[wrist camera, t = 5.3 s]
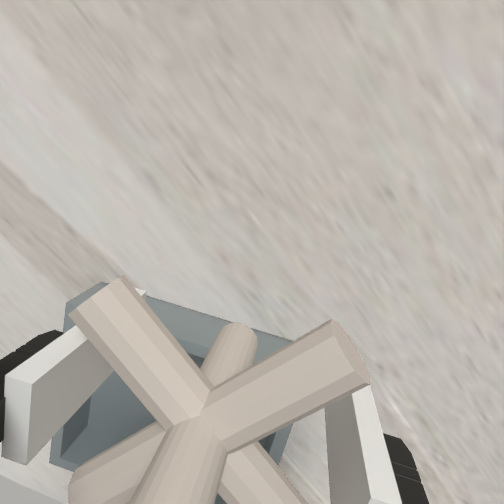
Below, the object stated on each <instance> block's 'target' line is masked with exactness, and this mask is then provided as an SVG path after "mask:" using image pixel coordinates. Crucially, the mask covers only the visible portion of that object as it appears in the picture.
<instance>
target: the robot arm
mask: <svg viewBox="0 0 504 504" xmlns="http://www.w3.org/2000/svg"><path fill="white" fill-rule="evenodd" d="M135 289H136V291H137V292H138V293H139V294H140V296H141V297H142V298H143V299H144V301H145V299H146V293H147V291H143V290H140V289H137V288H135ZM361 357H362V356H361ZM362 359H363V358H362ZM113 371H114V369H113V368H112V367H111V366H110V365H109V364H108V362H107V361H106V360H105V359H104V358H103V356H102V355H101V354H100V353H99V352H98V351H97V349H96V348H95V347H94V346H93V345H92V343H91V342H90V341H89V340H88V339H87V337H86V336H85V335H84V334H83V333H82V332H81V330H80V329H79V328H78V327H77V326H76V325H75V326H74V327H73V328H71V329H70V330H68V331H67V332H66V333H63V332H60V331H56V330H53V331H50V332H47V333H44V334H41V335H38V336H37V337H35V338H34V339H32V340H30V341H29V342H27V343H26V345H23V346H21V347H20V348H18V349H16V351H15V352H14V351H13V352H12V353H10V354H9V355H7V356H6V357H4V358H3V359H1V360H0V442H1V441H2V455H1V457H4V458H6V459H9V460H12V461H15V462H18V463H20V464H23V465H27V464H28V463H29V462H30V461H31V460H32V459H33V457H34V456H35V455H36V454H37V453H38V452H39V451H40V450H41V449H42V448H43V447H44V446H45V445H46V443H47V442H48V441H49V440H50V439H51V438H52V437H53V436H54V435H55V434H56V433H57V432H58V431H59V429H60V428H61V427H62V426H63V425H64V424H65V423H66V422H67V421H68V420H69V419H70V418H71V416H72V415H73V414H74V413H75V412H76V411H77V410H78V409H79V408H80V407H81V406H82V405H83V404H84V402H85V401H86V400H87V399H88V398H89V397H90V396H91V395H92V394H93V393H94V392H95V391H96V390H97V388H98V387H99V386H100V385H101V384H102V383H103V382H104V381H105V380H106V379H107V378H108V377H109V376H110V374H111V373H112V372H113ZM325 422H326V438H327V453H328V469H329V485H330V501H331V504H429V502H428V499H427V496H426V493H425V491H424V488H423V485H422V484H421V479H420V476H419V473H418V471H416V469H417V468H416V465H415V462H414V459H413V456H412V454H411V452H410V451H409V449H408V448H407V447H406V445H405V444H404V443H403V441H402V440H401V439H400V438H396V437H393V436H390V435H387V434H384V433H383V431H382V428H381V424H380V420H379V417H378V413H377V409H376V406H375V402H374V398H373V395H372V391H371V387H370V385H368V386H366V387H364V388H362V389H360V390H358V391H356V392H354V393H352V394H350V395H348V396H346V397H344V398H342V399H340V400H338V401H336V402H334V403H332V404H330V405H328V406H326V407H325Z"/></svg>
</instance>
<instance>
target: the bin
mask: <svg viewBox="0 0 504 504" xmlns="http://www.w3.org/2000/svg"><path fill="white" fill-rule="evenodd" d="M107 285H108V284H107V283H104V282H101V283H99V284H97V285H96V286H94V287H92V288H90V289H89V290H87V291H85V292H84V293H82V294H80V295H78V296H77V297H75V298H73V299H71V300H70V301H68V302H66V309H65V318H64V328H63V333H66V332H67V331H68V330H70V329H71V328H73V327H74V326H75V325H76V324H75V323H74V322H73V321H72V320H71V319H70V317H69V316H68V314H69V313H70V312H72V311H73V310H74V309H75V308H77V307H78V306H79V305H81V304H82V303H83V302H85V301H86V300H87V299H89V298H90V297H91V296H93V295H94V294H96V293H97V292H98V291H100V290H101V289H103V288H104V287H105V286H107ZM145 302H146V303H147V304H148V305H149V307H150V308H151V309H152V310H153V312H154V313H155V314H156V315H157V317H158V318H159V319H160V320H161V322H162V323H163V324H164V325H165V327H166V328H167V329H168V330H169V332H170V333H171V334H172V335H173V336H174V338H175V339H176V340H177V341H178V343H179V344H180V345H181V346H182V348H183V349H184V350H185V351H186V353H187V354H188V355H189V356H190V358H191V359H192V360H193V361H194V363H195V364H196V365H197V366H198V367H199V369H200V367H201V365H202V363H203V362H204V360H205V358H206V356H207V354H208V352H209V350H210V348H211V346H212V344H213V342H214V340H215V339H216V337H217V335H218V333H219V331H220V330H221V328H223V327H224V326H225V325H227V324H230V323H232V322H229V321H226V320H223V319H220V318H216V317H213V316H210V315H207V314H203V313H200V312H197V311H194V310H191V309H187V308H184V307H181V306H178V305H174V304H171V303H168V302H165V301H162V300H158V299H155V298H152V297H149V296H146V299H145ZM251 329H252V328H251ZM252 330H253V331H254V333H255V335H256V336H257V340H258V347H257V351H256V354H255V358H254V361H253V364H255V363H257V362H258V361H260V360H262V359H264V358H265V357H267V356H269V355H271V354H272V353H274V352H276V351H277V350H279V349H281V348H283V347H284V346H286V345H288V344H290V343H291V342H293V341H290V340H287V339H284V338H281V337H278V336H274V335H271V334H268V333H265V332H261V331H258V330H255V329H252ZM155 421H157V420H156V419H155V418H154V417H153V416H152V414H151V413H150V412H149V411H148V410H147V409H146V407H145V406H144V405H143V404H142V403H141V401H140V400H139V399H138V398H137V397H136V396H135V394H134V393H133V392H132V391H131V390H130V388H129V387H128V386H127V385H126V384H125V383H124V381H123V380H122V379H121V378H120V377H119V375H118V374H117V373H116V372H115V371H113V372H112V373H111V374H110V376H109V377H108V378H107V379H106V380H105V381H104V382H103V383H102V384H101V385H100V386H99V387H98V388H97V390H96V391H95V392H94V393H93V394H92V395H91V396H90V397H89V398H88V399H87V400H86V401H85V402H84V404H83V405H82V406H81V407H80V408H79V409H78V410H77V411H76V412H75V413H74V414H73V415H72V416H71V418H70V419H69V420H68V421H67V422H66V423H65V424H64V425H63V426H62V427H61V428H60V429H59V431H58V432H57V433H56V434H55V435H54V436H53V437H52V442H51V451H50V461H49V463H51V464H53V465H56V466H59V467H62V468H64V469H67V470H70V471H73V472H75V470H76V469H77V468H79V467H80V466H81V465H82V464H84V463H85V462H86V461H88V460H89V459H91V458H93V457H95V456H96V455H98V454H100V453H102V452H103V451H105V450H107V449H108V448H110V447H112V446H114V445H115V444H117V443H119V442H121V441H122V440H124V439H126V438H127V437H129V436H131V435H133V434H134V433H136V432H138V431H139V430H141V429H143V428H145V427H146V426H148V425H150V424H152V423H153V422H155ZM292 424H293V423H292ZM292 424H290V425H288V426H286V427H284V428H282V429H280V430H278V431H276V432H274V433H272V434H270V435H268V436H266V437H264V438H262V439H260V440H258V442H259V443H260V444H261V446H262V447H263V448H264V449H265V451H266V452H267V453H268V454H269V456H270V457H271V458H272V459H273V461H274V462H275V463H276V464H277V465H278V464H279V461H280V459H281V456H282V453H283V450H284V447H285V444H286V441H287V439H288V436H289V433H290V430H291V427H292ZM214 504H227V503H226V502H225V501H224V500H223V499H222V497H221V496H220V495H219V494H218V493H217V496H216V499H215V503H214Z"/></svg>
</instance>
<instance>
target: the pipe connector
mask: <svg viewBox="0 0 504 504" xmlns="http://www.w3.org/2000/svg"><path fill="white" fill-rule="evenodd" d="M68 316H69V317H70V319H71V320H72V321H73V322H74V323H75V324H76V326H77V327H78V328H79V329H80V330H81V332H82V333H83V334H84V335H85V336H86V337H87V339H88V340H89V341H90V342H91V343H92V345H93V346H94V347H95V348H96V349H97V351H98V352H99V353H100V354H101V355H102V356H103V358H104V359H105V360H106V361H107V362H108V364H109V365H110V366H111V367H112V368H113V369H114V371H115V372H116V373H117V374H118V375H119V377H120V378H121V379H122V380H123V381H124V383H125V384H126V385H127V386H128V387H129V388H130V390H131V391H132V392H133V393H134V394H135V396H136V397H137V398H138V399H139V400H140V401H141V403H142V404H143V405H144V406H145V407H146V409H147V410H148V411H149V412H150V413H151V414H152V416H153V417H154V418H155V419H156V420H157V421H155V422H153V423H152V424H150V425H148V426H146V427H145V428H143V429H141V430H139V431H138V432H136V433H134V434H133V435H131V436H129V437H127V438H126V439H124V440H122V441H121V442H119V443H117V444H115V445H114V446H112V447H110V448H108V449H107V450H105V451H103V452H102V453H100V454H98V455H96V456H95V457H93V458H91V459H89V460H88V461H86V462H85V463H84V464H82V465H81V466H80V467H79V468H77V469H76V470H75V472H74V474H73V476H72V479H71V481H70V483H69V504H214V503H215V499H216V496H217V493H218V494H219V495H220V496H221V497H222V499H223V500H224V501H225V502H226V503H227V504H308V503H307V501H306V500H305V499H304V498H303V496H302V495H301V494H300V493H299V492H298V490H297V489H296V488H295V487H294V485H293V484H292V483H291V482H290V480H289V479H288V478H287V477H286V475H285V474H284V473H283V472H282V470H281V469H280V468H279V467H278V465H277V464H276V463H275V462H274V461H273V459H272V458H271V457H270V456H269V454H268V453H267V452H266V451H265V449H264V448H263V447H262V446H261V444H260V443H259V442H258V440H260V439H262V438H264V437H266V436H268V435H270V434H272V433H274V432H276V431H278V430H280V429H282V428H284V427H286V426H288V425H290V424H292V423H294V422H296V421H298V420H300V419H302V418H304V417H306V416H308V415H310V414H312V413H314V412H316V411H318V410H320V409H322V408H324V407H326V406H328V405H330V404H332V403H334V402H336V401H338V400H340V399H342V398H344V397H346V396H348V395H350V394H352V393H354V392H356V391H358V390H360V389H362V388H364V387H366V386H368V385H370V375H369V373H368V370H367V368H366V365H365V363H364V361H363V359H362V357H361V356H360V354H359V352H358V350H357V348H356V347H355V345H354V343H353V342H352V340H351V339H350V337H349V336H348V334H347V333H346V332H345V331H344V329H343V328H342V327H341V326H340V325H339V323H338V322H336V321H335V320H333V319H331V320H329V321H327V322H326V323H324V324H322V325H321V326H319V327H317V328H315V329H314V330H312V331H310V332H309V333H307V334H305V335H303V336H302V337H300V338H298V339H296V340H295V341H293V342H291V343H290V344H288V345H286V346H284V347H283V348H281V349H279V350H277V351H276V352H274V353H272V354H271V355H269V356H267V357H265V358H264V359H262V360H260V361H258V362H257V363H255V364H253V361H254V358H255V354H256V351H257V347H258V340H257V336H256V335H255V333H254V331H253V330H252V329H251V328H249V327H248V326H246V325H244V324H241V323H230V324H227V325H225V326H224V327H223V328H221V330H220V331H219V333H218V335H217V337H216V339H215V340H214V342H213V344H212V346H211V348H210V350H209V352H208V354H207V356H206V358H205V360H204V362H203V363H202V365H201V367H200V369H199V367H198V366H197V365H196V364H195V363H194V361H193V360H192V359H191V358H190V356H189V355H188V354H187V353H186V351H185V350H184V349H183V348H182V346H181V345H180V344H179V343H178V341H177V340H176V339H175V338H174V336H173V335H172V334H171V333H170V332H169V330H168V329H167V328H166V327H165V325H164V324H163V323H162V322H161V320H160V319H159V318H158V317H157V315H156V314H155V313H154V312H153V310H152V309H151V308H150V307H149V305H148V304H147V303H146V302H145V301H144V299H143V298H142V297H141V296H140V294H139V293H138V292H137V291H136V289H135V288H134V287H133V286H132V284H131V283H130V282H129V281H128V279H127V278H126V277H125V276H124V275H123V276H121V277H119V278H117V279H116V280H114V281H113V282H111V283H110V284H108V285H107V286H105V287H104V288H103V289H101V290H100V291H98V292H97V293H96V294H94V295H93V296H91V297H90V298H89V299H87V300H86V301H85V302H83V303H82V304H81V305H79V306H78V307H77V308H75V309H74V310H73V311H72V312H70V313H69V314H68Z"/></svg>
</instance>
